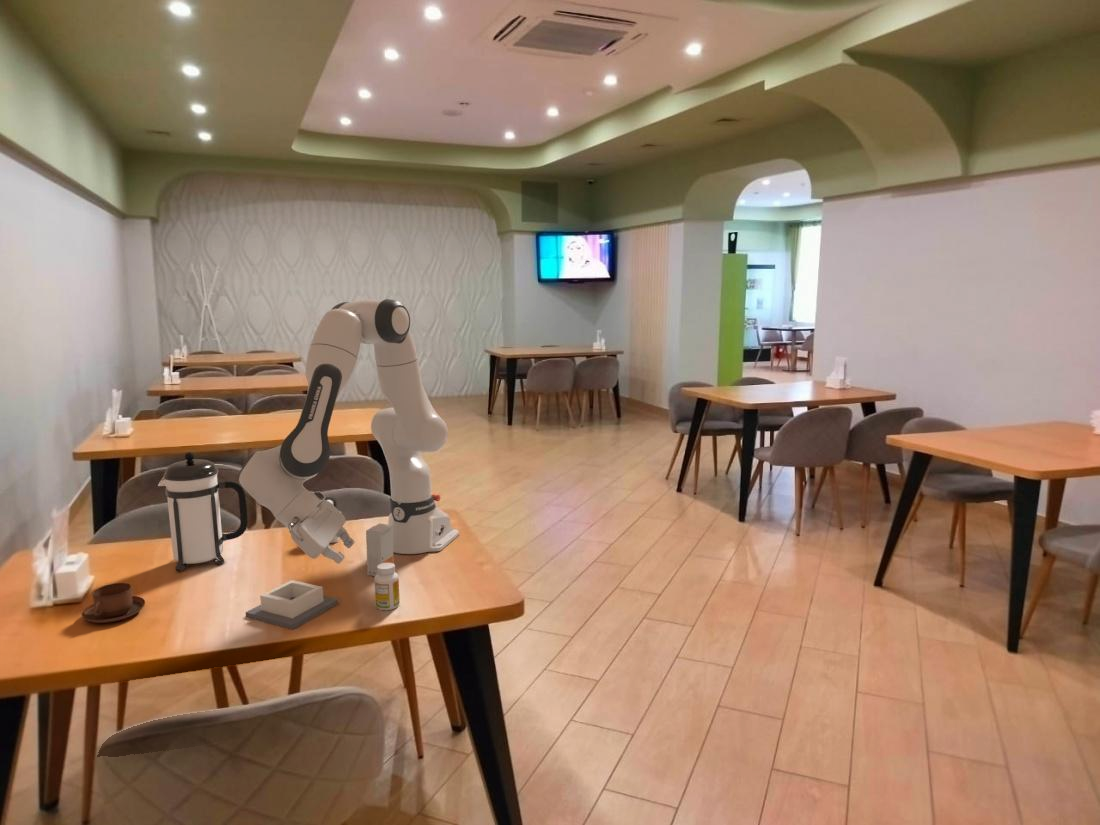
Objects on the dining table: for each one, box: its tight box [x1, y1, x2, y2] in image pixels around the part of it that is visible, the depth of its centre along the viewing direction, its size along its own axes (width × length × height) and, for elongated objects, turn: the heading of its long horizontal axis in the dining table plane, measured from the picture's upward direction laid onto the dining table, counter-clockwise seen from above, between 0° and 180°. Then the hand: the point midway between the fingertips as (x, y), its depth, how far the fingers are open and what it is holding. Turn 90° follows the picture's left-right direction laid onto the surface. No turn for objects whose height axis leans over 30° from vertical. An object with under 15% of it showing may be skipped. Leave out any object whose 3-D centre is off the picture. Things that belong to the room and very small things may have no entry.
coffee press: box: [157, 451, 248, 573], centre depth 188 cm, size 17×16×30 cm
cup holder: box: [245, 579, 339, 630], centre depth 161 cm, size 14×14×4 cm
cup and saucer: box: [81, 582, 146, 624], centre depth 158 cm, size 12×12×6 cm
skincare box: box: [365, 523, 395, 577], centre depth 181 cm, size 6×4×12 cm
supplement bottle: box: [374, 563, 401, 611], centre depth 162 cm, size 5×5×10 cm
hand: (347, 552), depth 161 cm, fingers open, 8 cm apart
